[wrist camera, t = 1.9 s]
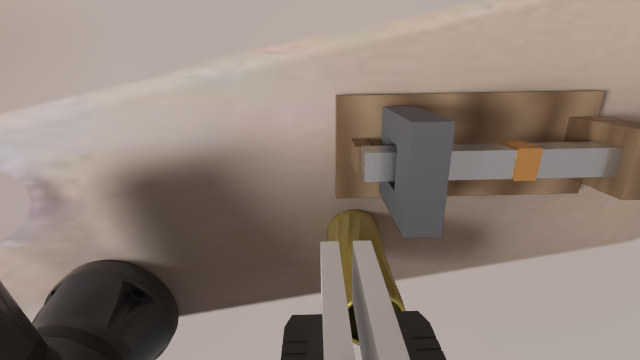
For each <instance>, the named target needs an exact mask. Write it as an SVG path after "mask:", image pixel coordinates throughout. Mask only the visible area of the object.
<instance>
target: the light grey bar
mask: <svg viewBox="0 0 640 360" xmlns="http://www.w3.org/2000/svg"><path fill="white" fill-rule="evenodd" d="M622 150H623V148H622V147H618V146H614V145H610V144H606V143H602V142H598V141H592V142H541V143H527V142H524V141H501V142H500V143H490V144H453V146H452V154H451V162H450V170H449V178H448V180H487V179H510V180H512V181H536V179H537V178H583V177H615V174H616V170H617V167H618V164H619V160H620V157H621V154H622ZM396 159H397V145H388V146H361V165H360V173H361V176H362V178H363V180H364V182H390V181H395V174H396Z"/></svg>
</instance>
